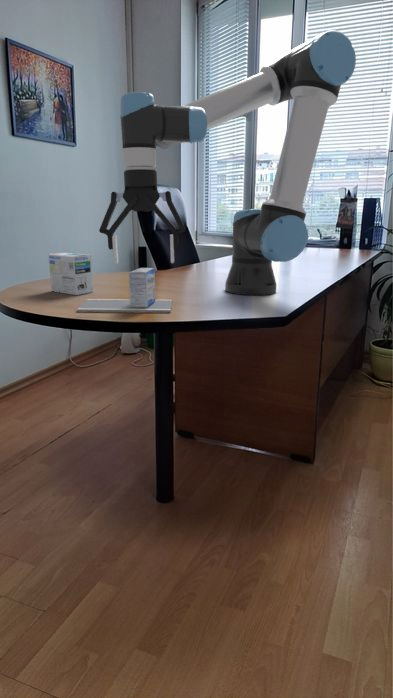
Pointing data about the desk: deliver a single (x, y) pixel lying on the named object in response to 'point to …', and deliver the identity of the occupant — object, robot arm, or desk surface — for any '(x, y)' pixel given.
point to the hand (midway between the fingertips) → (144, 262)
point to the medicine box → (142, 287)
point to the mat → (123, 306)
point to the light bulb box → (71, 273)
